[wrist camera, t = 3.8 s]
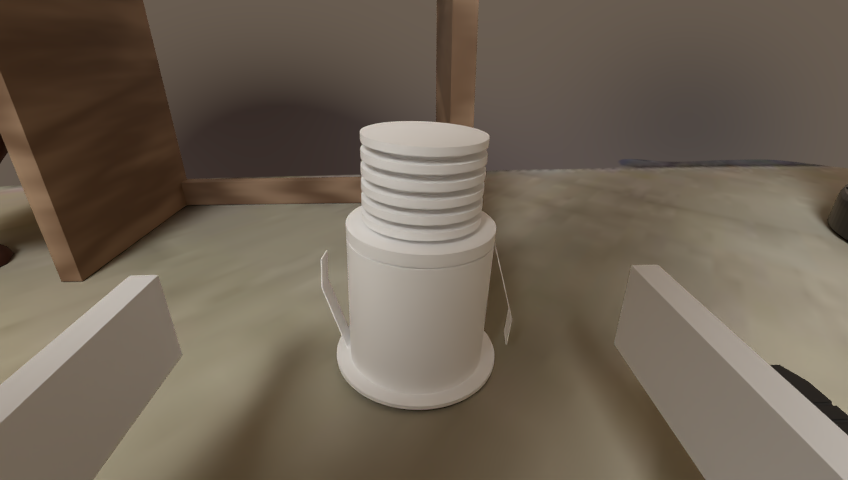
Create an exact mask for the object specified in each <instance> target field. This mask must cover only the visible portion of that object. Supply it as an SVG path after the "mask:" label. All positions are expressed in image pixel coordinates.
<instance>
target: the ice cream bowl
mask: <svg viewBox="0 0 848 480" xmlns="http://www.w3.org/2000/svg"><path fill="white" fill-rule="evenodd" d="M7 153H8V151H7V148H6V146H5V143H4V141H3V139H2V136H1V134H0V163H1V161H2V160H3V158H4V157H5V155H6V154H7ZM12 255H13V252H12V251H11V250H10V249H9V248H8V247H7V246H4V245H1V244H0V267H1V266H3V265H5V264H7V263H8V261H9V260H10V258H11V257H12Z"/></svg>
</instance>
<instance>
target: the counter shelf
mask: <svg viewBox="0 0 848 480" xmlns="http://www.w3.org/2000/svg"><path fill="white" fill-rule="evenodd" d="M478 5H479V0H437V61H436V65H437V67H436V73H437V74H436V122H440V123H450V124H457V125H463V126H468V127H472V128H473V124H474V101H475V77H476V76H475V75H476V53H477V29H478ZM0 134H1V136H2V139H3V141H4V143H5V146H6V148H7V151H8V153H9V155H10V158H11V160H12V162H13V165H14V167H15V170H16V172H17V174H18V177H19V179H20V182H21V184H22V187H23V189H24V192H25V194H26V196H27V199H28V201H29V204H30V206H31V209H32V211H33V213H34V216H35V218H36V221H37V223H38V225H39V228H40V230H41V233H42V235H43V237H44V240H45V242H46V245H47V247H48V250H49V252H50V254H51V257H52V259H53V262H54V264H55V266H56V269H57V271H58V274H59V276H60V279H61V281H83V280H85V279H86V278H87V277H89V276H90V275H91V274H93V273H94V272H96V271H97V270H98V269H100V268H101V267H102V266H104V265H105V264H107V263H108V262H109V261H111V260H112V259H113V258H115V257H116V256H117V255H119V254H120V253H122V252H123V251H124V250H126V249H127V248H128V247H130V246H131V245H133V244H134V243H135V242H137V241H138V240H139V239H141V238H142V237H143V236H145V235H146V234H148V233H149V232H150V231H152V230H153V229H154V228H156V227H157V226H159V225H160V224H161V223H163V222H164V221H165V220H167V219H168V218H169V217H171V216H172V215H174V214H175V213H176V212H178V211H179V210H180V209H182V208H183V207H185V206H186V205H218V204H291V203H361V193H362V190H361V177H322V178H242V179H186V175H185V170H184V167H183V162H182V158H181V155H180V150H179V146H178V142H177V138H176V134H175V130H174V126H173V122H172V117H171V113H170V110H169V105H168V101H167V97H166V93H165V89H164V85H163V81H162V77H161V73H160V69H159V64H158V60H157V56H156V52H155V48H154V44H153V40H152V36H151V32H150V28H149V24H148V20H147V16H146V12H145V7H144V3H143V0H0Z"/></svg>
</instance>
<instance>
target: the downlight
mask: <svg viewBox="0 0 848 480" xmlns="http://www.w3.org/2000/svg"><path fill="white" fill-rule="evenodd" d="M360 141H361V143H362V145H361V147H360V157H361V159H362V162H361V175H362V177H361V190H362V193H361V203H362V206H360V207H358V208H356V209H355V210H353V211H352V212H351V213H350V214H349V215H348V217H347V219H346V242H347V267H348V292H349V317H350V325H349V326H348V325H347V322H346V320H345V318H344V315H343V313H342V310H341V308H340V305H339V303H338V300H337V298H336V296H335V293H334V291H333V288H332V286H331V283H330V281H329V279H328V251H327V250H326V251H325V253H324V254H323V256H322V258H321V288H322V290H323V292H324V295H325V297H326V300H327V302H328V304H329V307H330V309H331V311H332V314H333V316H334V318H335V321H336V323H337V326H338V328H339V330H340V333H341V335H342V336H341V338H340V340H339V342H338V346H337V362H338V366H339V369H340V372H341V374H342V375H343V377H344V378H345V380H346V381H347V382H348V383H349V385H350V386H351V387H353V388H354V389H355V390H356V391H357V392H359V393H360V394H362V395H363V396H365V397H367V398H369V399H371V400H373V401H375V402H378V403H380V404H383V405H387V406H390V407H395V408H400V409H409V410H427V409H436V408H441V407H446V406H449V405H452V404H455V403H458V402H460V401H462V400H464V399H466V398H468V397H470V396H471V395H473V394H474V393H476V392H477V391H478V390H479V389H480V388H481V387H482V386H483V385H484V384H485V383H486V381H487V380H488V378H489V377H490V375H491V372H492V370H493V365H494V349H493V345H492V342H491V340H490V338H489V337H488V335H487V334H486V332H485V331H484V324H485V316H486V308H487V300H488V292H489V283H490V275H491V267H492V259H493V251H494V245H495V250H496V254H497V258H498V263H499V267H500V272H501V276H502V281H503V285H504V290H505V294H506V299H507V303H508V313H507V318H506V323H505V328H504V337H505V342H506V345H507V343H508V338H509V333H510V328H511V323H512V316H511V311H510V307H509V302H508V298H507V293H506V289H505V284H504V280H503V275H502V271H501V266H500V262H499V257H498V253H497V248H496V244H495V235H496V224H495V222H494V220H493V219H492V218H491V217H490V216H489V215H488V214H486V213H485V212H483V211H482V205H483V197H482V196H483V194H484V180H485V176H486V167H485V165H486V163H487V157H488V152H487V151H486V149H487V148H488V146H489V135H488V134H487V133H486V132H484V131H481V130H479V129H475V128H472V127H468V126H463V125H457V124H450V123H440V122H425V121H398V122H385V123H378V124H373V125H369V126H366V127H364V128H362V129H361V130H360Z"/></svg>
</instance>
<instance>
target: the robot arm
mask: <svg viewBox="0 0 848 480" xmlns="http://www.w3.org/2000/svg"><path fill="white" fill-rule="evenodd" d="M828 223H829V225H830V227H831V228H832V229H833V230H834V231H835V232H836V233H838V234H839V235H840V236H842V237H844V238H845V239H847V240H848V184H847V185H846V186H845V187H844V188H843V189H842V190H841V192H840V193H839V195H838V196H837V199H836V201H835V203H834V206H833V208H832V211H831V213H830V215H829V218H828ZM614 345H615V347H616V348H617V350H618V351H619V352H620V354H621V355H622V357H623V358H624V360H625V361H626V363H627V364H628V366H629V367H630V369H631V370H632V372H633V373H634V375H635V376H636V378H637V379H638V381H639V382H640V384H641V385H642V387H643V388H644V390H645V391H646V392H647V394H648V395H649V397H650V398H651V400H652V401H653V403H654V404H655V406H656V407H657V409H658V410H659V412H660V413H661V415H662V416H663V418H664V419H665V421H666V422H667V424H668V425H669V427H670V428H671V429H672V431H673V432H674V434H675V435H676V437H677V438H678V440H679V441H680V443H681V444H682V446H683V447H684V449H685V450H686V452H687V453H688V455H689V456H690V458H691V459H692V461H693V462H694V464H695V465H696V467H697V468H698V469H699V471H700V472H701V474H702V475H703V477H704V478H705V480H848V415H847V414H846V413H844V412H843V411H842V410H841V409H840V408H839V407H837V406H833V405H832V401H830V400H829V399H828V398H827V397H826V396H825V395H823V394H822V393H821V392H820V391H819V390H818V389H816V388H815V387H814V386H813V385H812V384H810V383H809V382H808V381H806V380H805V379H803V378H801V377H799V376H798V375H796V374H794V373H792V372H791V371H789V370H787V369H785V368H784V367H782V366H780V365H769V364H768V363H767V362H766V361H765V360H764V359H762V358H761V357H760V356H759V355H758V354H757V353H756V352H755V351H754V350H752V349H751V348H750V347H749V346H748V345H747V344H746V343H745V342H744V341H742V340H741V339H740V338H739V337H738V336H737V335H736V334H735V333H734V332H732V331H731V330H730V329H729V328H728V327H727V326H726V325H725V324H724V323H722V322H721V321H720V320H719V319H718V318H717V317H716V316H715V315H714V314H712V313H711V312H710V311H709V310H708V309H707V308H706V307H705V306H704V305H702V304H701V303H700V302H699V301H698V300H697V299H696V298H695V297H694V296H692V295H691V294H690V293H689V292H688V291H687V290H686V289H685V288H684V287H682V286H681V285H680V284H679V283H678V282H677V281H676V280H675V279H674V278H672V277H671V276H670V275H669V274H668V273H667V272H666V271H665V270H663V269H662V268H661V267H660V266H659V265H631V269H630V273H629V278H628V282H627V287H626V291H625V296H624V300H623V305H622V309H621V314H620V318H619V323H618V327H617V331H616V336H615V340H614ZM181 356H182V352H181V348H180V345H179V342H178V339H177V335H176V332H175V329H174V325H173V322H172V319H171V316H170V312H169V309H168V306H167V302H166V299H165V296H164V293H163V289H162V286H161V283H160V279H159V276H158V275H134V276H129V277H127V278H126V279H125V280H124V281H123V282H121V283H120V284H119V285H118V286H117V287H116V288H114V289H113V290H112V291H111V292H110V293H108V294H107V295H106V296H105V297H104V298H103V299H101V300H100V301H99V302H98V303H97V304H95V305H94V306H93V307H92V308H91V309H90V310H88V311H87V312H86V313H85V314H84V315H82V316H81V317H80V318H79V319H78V320H76V321H75V322H74V323H73V324H72V325H71V326H69V327H68V328H67V329H66V330H65V331H63V332H62V333H61V334H60V335H59V336H58V337H56V338H55V339H54V340H53V341H52V342H50V343H49V344H48V345H47V346H46V347H45V348H43V349H42V350H41V351H40V352H39V353H37V354H36V355H35V356H34V357H33V358H31V359H30V360H29V361H28V362H27V363H26V364H24V365H23V366H22V367H21V368H20V369H18V370H17V371H16V372H15V373H14V374H13V375H11V376H10V377H9V378H8V379H7V380H5V381H4V382H3V383H2V384H1V385H0V480H93V479H94V478H95V476H96V475H97V474H98V472H99V471H100V469H101V468H102V467H103V465H104V464H105V462H106V461H107V460H108V458H109V457H110V455H111V454H112V453H113V451H114V450H115V448H116V447H117V446H118V444H119V443H120V441H121V440H122V439H123V437H124V436H125V435H126V433H127V432H128V430H129V429H130V428H131V426H132V425H133V423H134V422H135V421H136V419H137V418H138V416H139V415H140V414H141V412H142V411H143V409H144V408H145V407H146V405H147V404H148V402H149V401H150V400H151V398H152V397H153V395H154V394H155V393H156V391H157V390H158V389H159V387H160V386H161V384H162V383H163V382H164V380H165V379H166V377H167V376H168V375H169V373H170V372H171V370H172V369H173V368H174V366H175V365H176V363H177V362H178V361H179V359H180V358H181Z"/></svg>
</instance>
